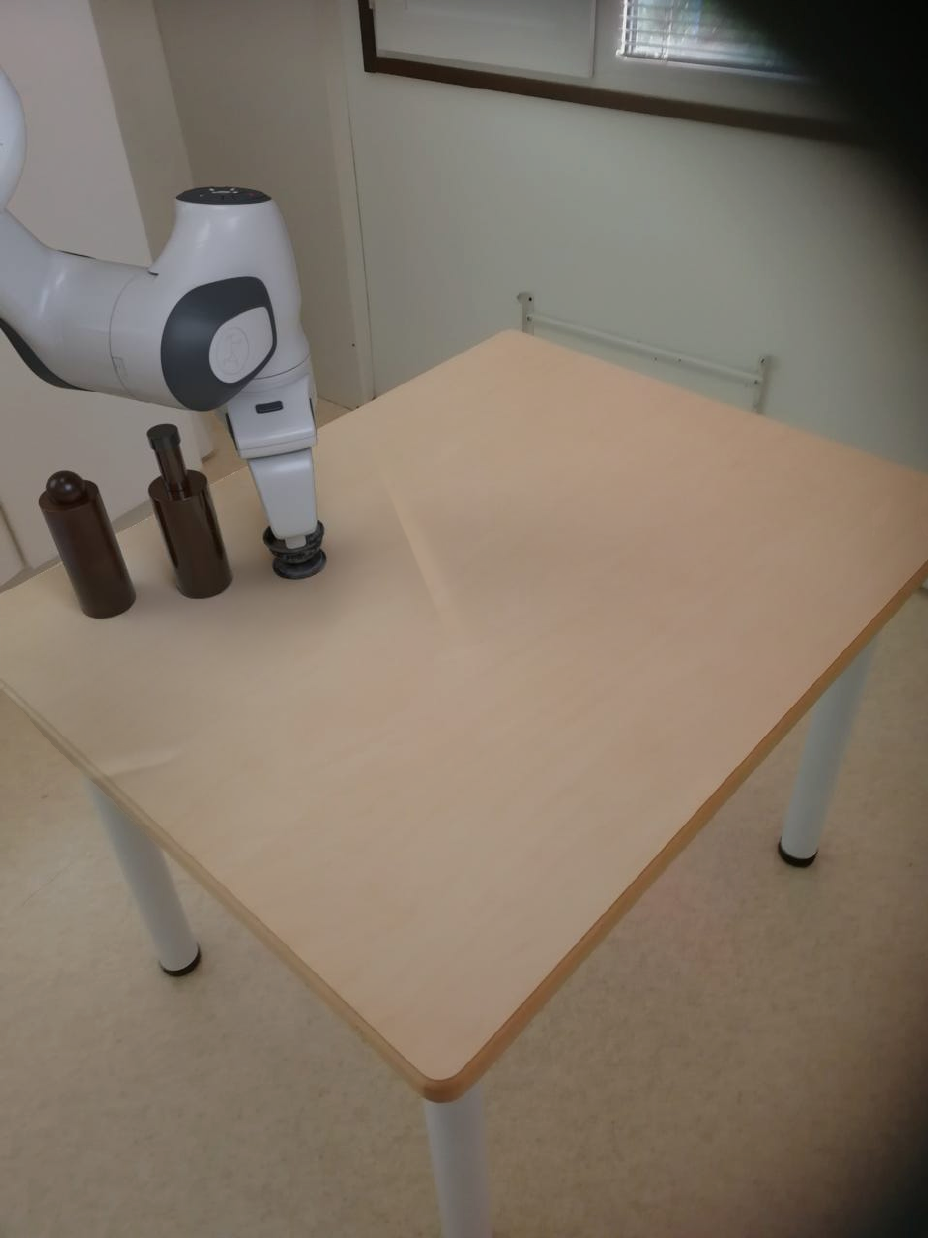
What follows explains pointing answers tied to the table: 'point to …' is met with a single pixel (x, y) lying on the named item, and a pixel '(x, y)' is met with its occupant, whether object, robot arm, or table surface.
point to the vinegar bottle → (187, 519)
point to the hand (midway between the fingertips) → (290, 521)
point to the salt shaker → (297, 555)
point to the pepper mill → (87, 545)
